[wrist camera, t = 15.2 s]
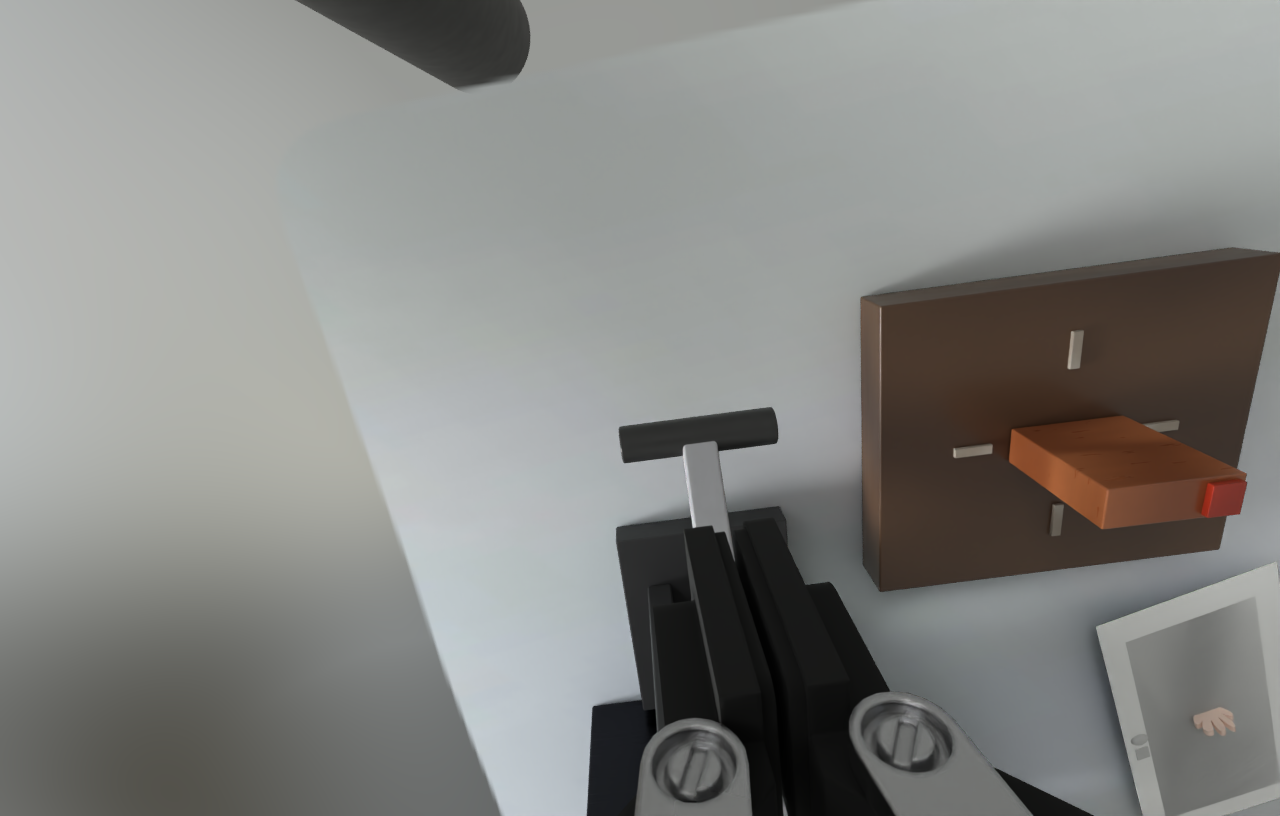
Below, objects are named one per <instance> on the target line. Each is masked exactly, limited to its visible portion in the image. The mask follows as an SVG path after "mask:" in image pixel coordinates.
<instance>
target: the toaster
mask: <svg viewBox="0 0 1280 816" xmlns="http://www.w3.org/2000/svg"><path fill="white" fill-rule="evenodd" d="M656 733H657V722H656V709H651V710H644V709H643V703H642V700H639V701H631V702H623V703H615V704H607V705H598V706H593V708H592V726H591V745H590V764H589V784H588V803H587V816H617V815H618V814H619V813H620V812H621V811H622V810H623V809H624V808H625V806H626V805H627V804H628V803H629V802H630V801H631V800H632V799H633V797H634V796H635V795H636V794H637V789H638V780H639V771H640V762H641V759H642V755H643V752H644V749H645V747H646V745H647V744H648V743H649V741H650V740H651V738H652V737H653V735H655V734H656Z"/></svg>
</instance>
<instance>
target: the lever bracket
mask: <svg viewBox="0 0 1280 816" xmlns="http://www.w3.org/2000/svg"><path fill="white" fill-rule="evenodd" d="M768 517H773V518H774V519H775V521H776V523H777V526H778V528H779V530H780V532H781V534H782V536H783V538H784V540H785V543H786V545H787V527H786V519H785V517H784V515H783V513H782V511H781V509H780V507H779V506H778V507H770V508H762V509H754V510H747V511H739V512H731V513H728V519H729V525H730V532H731V539H732V545H733V552H734V558H735V551H734V539H733V531H734V530H738V529H743V521H746V520H753V519H761V518H768ZM687 528H693V526H692V519H691V518H684V519H676V520H669V521H661V522H653V523H645V524H637V525H630V526H622V527H617V528H616V544H617V550H618V557H619V563H620V569H621V575H622V581H623V587H624V593H625V599H626V606H627V612H628V618H629V624H630V630H631V636H632V642H633V648H634V655H635V661H636V667H637V673H638V679H639V685H640V691H641V697H642V703H643V709H644V710H651V709H656V722H657V732H658V731H660V730H661V729H662V728H663V727H665V723H664V713H663V703H662V693H661V683H660V673H659V663H658V653H657V643H656V634H655V624H654V614H653V606H656V605H663V604H671V603H678V602H685V601H692V600H691V591H690V583H689V575H688V566H687V558H686V549H685V541H684V531H683V529H687ZM787 547H788V545H787ZM735 564H736V563H735Z"/></svg>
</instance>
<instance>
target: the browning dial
mask: <svg viewBox="0 0 1280 816" xmlns="http://www.w3.org/2000/svg"><path fill="white" fill-rule="evenodd" d="M1279 273H1280V253H1278V252H1269V251H1260V250H1251V249H1242V248H1233V247H1232V248H1224V249H1217V250H1209V251H1202V252H1194V253H1187V254H1179V255H1172V256H1164V257H1157V258H1149V259H1142V260H1134V261H1126V262H1119V263H1111V264H1104V265H1096V266H1089V267H1081V268H1074V269H1066V270H1059V271H1051V272H1044V273H1036V274H1029V275H1021V276H1014V277H1006V278H999V279H991V280H984V281H976V282H969V283H961V284H954V285H946V286H939V287H931V288H924V289H916V290H908V291H901V292H893V293H886V294H878V295H871V296H863V297H861V408H862V530H863V566H864V568H865V569H866V571H867V572H868V574H869V575H870V577H871V579H872V580H873V582H874V583H875V585H876V587H877V588H878V590H879V591H880V592H884V591H892V590H900V589H908V588H916V587H924V586H932V585H940V584H948V583H956V582H964V581H972V580H980V579H988V578H996V577H1004V576H1012V575H1020V574H1028V573H1035V572H1043V571H1051V570H1059V569H1067V568H1075V567H1083V566H1091V565H1099V564H1107V563H1115V562H1123V561H1131V560H1139V559H1147V558H1155V557H1163V556H1171V555H1179V554H1187V553H1195V552H1203V551H1211V550H1218V549H1219V548H1220V544H1221V540H1222V535H1223V531H1224V526H1225V521H1226V517H1227V516H1220V517H1212V518H1206V517H1203V518H1195V519H1186V520H1178V521H1169V522H1161V523H1153V524H1144V525H1136V526H1128V527H1119V528H1111V529H1101V528H1099V527H1098V526H1096V525H1095V524H1094V523H1092V522H1091V521H1090V520H1088V519H1087V518H1085V517H1084V516H1083V515H1081V514H1080V513H1079V512H1077V511H1076V510H1074V509H1073V508H1072V507H1070V506H1069V505H1068V504H1066V503H1065V502H1063V501H1062V500H1061V499H1059V498H1058V497H1057V496H1055V495H1054V494H1052V493H1051V492H1050V491H1048V490H1047V489H1046V488H1044V487H1043V486H1041V485H1040V484H1039V483H1037V482H1036V481H1035V480H1033V479H1032V478H1030V477H1029V476H1028V475H1026V474H1025V473H1024V472H1022V471H1021V470H1019V469H1018V468H1017V467H1015V466H1014V465H1013V464H1011V463H1010V462H1009V454H1010V443H1011V432H1012V429H1016V428H1024V427H1032V426H1040V425H1049V424H1057V423H1065V422H1073V421H1081V420H1090V419H1098V418H1106V417H1114V416H1125V417H1127V418H1130V419H1132V420H1134V421H1136V422H1138V423H1140V424H1142V425H1145V426H1147V427H1149V428H1151V429H1153V430H1155V431H1157V432H1159V433H1162V434H1164V435H1166V436H1168V437H1170V438H1172V439H1174V440H1176V441H1179V442H1181V443H1183V444H1185V445H1187V446H1189V447H1191V448H1194V449H1196V450H1198V451H1200V452H1202V453H1204V454H1206V455H1208V456H1211V457H1213V458H1215V459H1217V460H1219V461H1221V462H1223V463H1226V464H1228V465H1230V466H1232V467H1234V468H1236V469H1237V466H1238V462H1239V457H1240V452H1241V448H1242V443H1243V439H1244V434H1245V429H1246V425H1247V420H1248V416H1249V411H1250V406H1251V402H1252V397H1253V393H1254V388H1255V383H1256V379H1257V374H1258V370H1259V365H1260V360H1261V356H1262V351H1263V347H1264V342H1265V337H1266V333H1267V328H1268V324H1269V319H1270V314H1271V310H1272V305H1273V301H1274V296H1275V291H1276V287H1277V282H1278V278H1279Z"/></svg>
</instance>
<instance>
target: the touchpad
mask: <svg viewBox="0 0 1280 816" xmlns="http://www.w3.org/2000/svg"><path fill="white" fill-rule="evenodd" d="M1096 629H1097V633H1098V638H1099V642H1100V646H1101V650H1102V654H1103V658H1104V662H1105V666H1106V670H1107V674H1108V678H1109V682H1110V686H1111V690H1112V694H1113V698H1114V702H1115V706H1116V710H1117V714H1118V718H1119V722H1120V726H1121V730H1122V734H1123V738H1124V742H1125V746H1126V751H1127V755H1128V759H1129V763H1130V767H1131V771H1132V775H1133V779H1134V783H1135V787H1136V791H1137V795H1138V799H1139V803H1140V807H1141V811H1142V815H1143V816H1225V815H1228V814H1231V813H1234V812H1237V811H1240V810H1243V809H1247V808H1250V807H1253V806H1256V805H1259V804H1262V803H1266V802H1269V801H1272V800H1275V799H1278V798H1280V582H1279V574H1278V565H1277V561H1276V562H1273V563H1270V564H1268V565H1265V566H1262V567H1259V568H1257V569H1254V570H1251V571H1248V572H1246V573H1243V574H1240V575H1237V576H1234V577H1232V578H1229V579H1226V580H1223V581H1221V582H1218V583H1215V584H1212V585H1210V586H1207V587H1204V588H1201V589H1198V590H1196V591H1193V592H1190V593H1187V594H1185V595H1182V596H1179V597H1176V598H1174V599H1171V600H1168V601H1165V602H1162V603H1160V604H1157V605H1154V606H1151V607H1149V608H1146V609H1143V610H1140V611H1138V612H1135V613H1132V614H1129V615H1126V616H1124V617H1121V618H1118V619H1115V620H1113V621H1110V622H1107V623H1104V624H1102V625H1099V626H1096Z"/></svg>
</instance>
